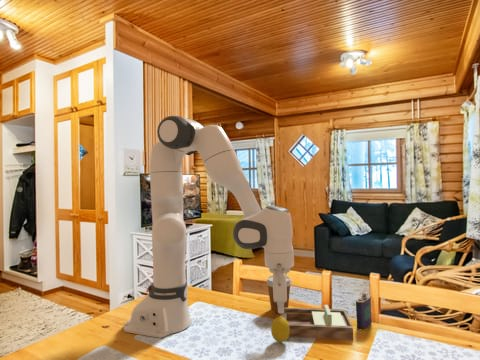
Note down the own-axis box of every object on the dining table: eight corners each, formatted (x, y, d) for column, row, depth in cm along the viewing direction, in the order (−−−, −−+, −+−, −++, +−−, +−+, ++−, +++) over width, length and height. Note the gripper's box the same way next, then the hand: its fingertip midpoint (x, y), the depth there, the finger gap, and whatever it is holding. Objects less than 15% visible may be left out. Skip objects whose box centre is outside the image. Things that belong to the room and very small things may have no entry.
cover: (314, 327, 96) (314, 315, 96) (311, 313, 106) (311, 302, 106) (346, 328, 94) (346, 317, 94) (340, 314, 105) (339, 303, 105)
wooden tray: (280, 336, 95) (280, 324, 95) (280, 316, 109) (280, 306, 109) (353, 339, 92) (353, 328, 92) (344, 319, 106) (343, 309, 106)
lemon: (289, 348, 88) (288, 321, 88) (270, 347, 89) (269, 319, 89) (290, 339, 94) (289, 313, 94) (272, 337, 95) (271, 312, 95)
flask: (365, 318, 106) (364, 288, 106) (374, 321, 104) (373, 290, 104) (355, 328, 99) (354, 296, 100) (364, 331, 97) (363, 298, 98)
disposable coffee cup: (274, 303, 122) (274, 273, 122) (296, 308, 116) (295, 277, 116) (262, 311, 114) (261, 279, 114) (284, 317, 108) (284, 284, 108)
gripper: (290, 269, 81) (293, 321, 81) (289, 251, 101) (290, 293, 101) (267, 269, 82) (269, 321, 82) (270, 252, 102) (271, 293, 102)
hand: (281, 305), depth 91 cm, fingers open, 8 cm apart
